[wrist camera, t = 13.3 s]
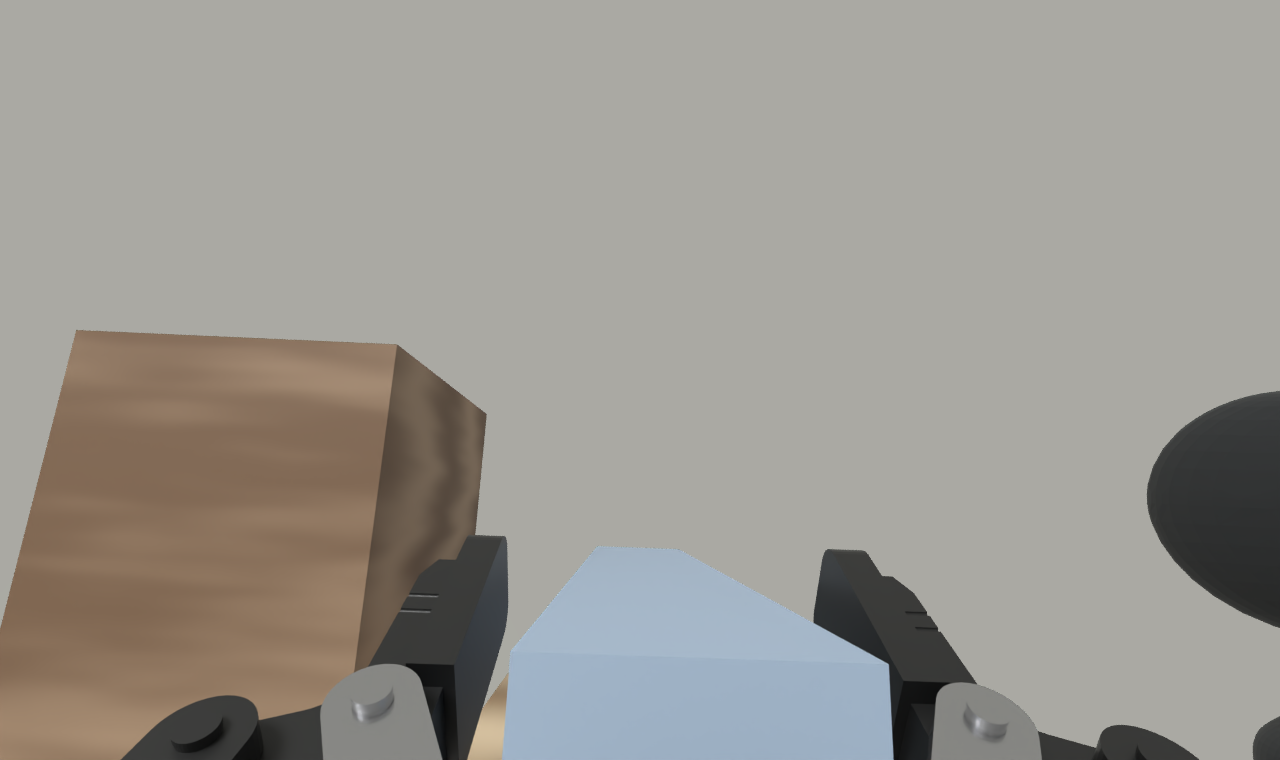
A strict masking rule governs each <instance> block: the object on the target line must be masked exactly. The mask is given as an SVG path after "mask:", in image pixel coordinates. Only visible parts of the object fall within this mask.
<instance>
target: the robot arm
mask: <svg viewBox="0 0 1280 760" xmlns="http://www.w3.org/2000/svg"><path fill="white" fill-rule="evenodd" d="M1147 505H1148V511H1149V515H1150V519H1151V522H1152V524H1153V526H1154V528H1155V531H1156V533H1157V535H1158V537H1159V539H1160V541H1161V543H1162V544H1163V546H1164V547H1165V548H1166V550H1167V551H1168V553H1169V554H1170V556H1171V557H1172V558H1173V560H1174V561H1175V562H1176V563H1177V564H1178V565H1179V566H1180V567H1181V568H1182V569H1183V570H1184V571H1185V572H1186V573H1187V574H1188V575H1189V576H1190V577H1191V579H1193V580H1194V581H1195V582H1197V583H1198V584H1199V585H1200V586H1202V587H1203V588H1204V589H1206V590H1207V591H1208V592H1209V593H1211V594H1212V595H1213V596H1215V597H1216V598H1218V599H1220V600H1222V601H1223V602H1225V603H1227V604H1228V605H1230V606H1232V607H1234V608H1235V609H1237V610H1239V611H1241V612H1242V613H1244V614H1247V615H1249V616H1251V617H1254V618H1256V619H1258V620H1261V621H1263V622H1265V623H1268V624H1270V625H1273V626H1275V627H1279V628H1280V391H1276V392H1269V393H1262V394H1257V395H1252V396H1248V397H1244V398H1241V399H1238V400H1234V401H1231V402H1229V403H1226V404H1223V405H1221V406H1218V407H1216V408H1214V409H1212V410H1210V411H1208V412H1206V413H1204V414H1203V415H1201V416H1199V417H1198V418H1196V419H1195V420H1193V421H1192V422H1190V423H1189V424H1187V425H1186V426H1185V427H1184V428H1182V429H1181V430H1180V431H1179V432H1178V433H1177V434H1176V435H1175V436H1174V437H1173V438H1172V439H1171V440H1170V442H1169V443H1168V444H1167V445H1166V446H1165V447H1164V448H1163V450H1162V452H1161V453H1160V456H1159V457H1158V459H1157V461H1156V462H1155V464H1154V466H1153V469H1152V472H1151V475H1150V479H1149V482H1148V489H1147ZM507 613H508V568H507V540H506V537H505V536H483V535H468V536H467V538H466V540H465V542H464V544H463V546H462V548H461V550H460V552H459V554H458V556H457V558H456V560H447V559H438V560H437V561H436V562H435V563H433V564H432V565H431V566H430V567H428V568H427V569H426V570H425V571H423V572H422V573H421V574H420V575H419V576H418V578H417V580H416V582H415V583H414V585H413V587H412V589H411V591H410V592H409V597H407V598H406V599H405V601H404V603H403V605H402V607H401V610H400V612H398V614H397V616H396V617H395V619H394V621H393V623H392V624H391V626H390V628H389V630H388V632H387V633H386V635H385V637H384V639H383V641H382V642H381V644H380V646H379V648H378V649H377V651H376V653H375V655H374V657H373V658H372V660H371V662H370V664H369V665H368V667H366V668H364V669H361V670H358V671H356V672H354V673H352V674H350V675H349V676H347V677H345V678H344V679H342V680H341V681H340V682H339V683H337V684H336V685H335V686H334V687H333V688H332V689H331V690H330V692H329V693H328V694H327V696H326V697H325V699H324V701H323V703H322V705H319V706H316V707H314V708H310V709H307V710H303V711H298V712H294V713H289V714H285V715H280V716H276V717H271V718H267V719H262V720H259V716H258V711H257V708H256V706H255V705H254V703H253V702H251V701H250V700H249V699H246V698H244V697H240V696H235V695H224V696H215V697H210V698H206V699H203V700H200V701H197V702H194V703H192V704H189V705H187V706H185V707H183V708H181V709H179V710H177V711H175V712H174V713H172V714H170V715H169V716H167V717H166V718H165V719H163V720H162V721H160V722H159V723H158V724H157V725H156V726H155V727H153V728H152V729H151V730H150V731H149V732H148V733H147V734H146V735H145V736H144V737H143V738H142V739H141V740H140V741H139V742H138V743H137V744H136V745H135V746H134V747H133V748H132V749H131V750H130V751H129V752H128V753H127V754H126V755H125V756H124V757H123V758H122V759H121V760H467V759H468V755H469V752H470V748H471V745H472V742H473V738H474V735H475V731H476V728H477V725H478V721H479V718H480V714H481V711H482V708H483V704H484V701H485V697H486V694H487V691H488V687H489V684H490V680H491V677H492V673H493V670H494V667H495V663H496V660H497V657H498V653H499V649H500V646H501V643H502V639H503V636H504V632H505V627H506V621H507ZM814 624H816V625H818V626H820V627H822V628H823V629H825V630H827V631H829V632H831V633H833V634H834V635H836V636H838V637H840V638H842V639H844V640H845V641H847V642H849V643H851V644H853V645H855V646H856V647H858V648H860V649H862V650H864V651H865V652H867V653H869V654H871V655H873V656H875V657H876V658H878V659H880V660H882V661H884V662H886V663H887V664H889V680H890V700H891V720H892V740H893V760H1199V759H1198V758H1197V757H1195V756H1194V755H1193V754H1191V753H1190V752H1189V751H1187V750H1185V749H1184V748H1183V747H1181V746H1179V745H1178V744H1176V743H1174V742H1173V741H1171V740H1169V739H1167V738H1165V737H1163V736H1160V735H1158V734H1156V733H1153V732H1151V731H1148V730H1145V729H1142V728H1138V727H1134V726H1127V725H1115V726H1110V727H1108V728H1106V729H1105V730H1104V731H1103V732H1102V734H1101V735H1100V738H1099V741H1098V744H1097V747H1096V748H1094V747H1090V746H1087V745H1083V744H1080V743H1076V742H1073V741H1069V740H1065V739H1062V738H1058V737H1055V736H1051V735H1047V734H1045V733H1042V732H1039V731H1037V729H1036V727H1035V725H1034V723H1033V722H1032V720H1031V719H1030V717H1029V716H1028V715H1027V714H1026V713H1025V712H1024V711H1023V710H1022V709H1021V708H1020V707H1019V706H1018V705H1016V704H1015V703H1014V702H1012V701H1011V700H1010V699H1008V698H1006V697H1005V696H1003V695H1001V694H1000V693H998V692H995V691H994V690H991V689H989V688H986V687H983V686H980V685H977V683H976V682H975V680H974V679H973V677H972V676H971V675H970V673H969V672H968V670H967V669H966V668H965V666H964V665H963V663H962V662H961V660H960V659H959V657H958V656H957V655H956V653H955V652H954V650H953V649H952V647H951V646H950V645H949V643H948V642H947V640H946V639H945V637H944V636H943V634H942V633H941V632H938V627H937V626H936V625H935V623H934V622H933V620H932V619H931V617H930V616H927V611H926V610H925V609H924V607H923V606H922V604H921V603H920V601H919V600H918V599H917V597H916V596H915V594H914V593H913V592H912V591H910V590H909V589H908V588H906V587H905V586H904V585H902V584H901V583H900V582H899V581H897V580H896V579H895V578H893V577H889V576H882V575H881V574H880V573H879V571H878V569H877V568H876V566H875V565H874V563H873V562H872V560H871V558H870V557H869V555H868V554H867V553H866V552H865V551H861V550H834V549H828V550H826V551H825V553H824V556H823V559H822V565H821V571H820V578H819V584H818V590H817V597H816V603H815V609H814ZM1253 759H1254V760H1280V717H1278V718H1276V719H1274V720H1272V721H1270V722H1268V723H1267V724H1265V725H1264V726H1263V727H1262V728H1260V729H1259V731H1258V733H1257V734H1256V736H1255V739H1254V743H1253Z"/></svg>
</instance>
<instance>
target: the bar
mask: <svg viewBox="0 0 1280 760" xmlns="http://www.w3.org/2000/svg"><path fill="white" fill-rule="evenodd" d="M502 760H893V740H892V720H891V700H890V680H889V664H887V663H886V662H884V661H882V660H880V659H878V658H876V657H875V656H873V655H871V654H869V653H867V652H865V651H864V650H862V649H860V648H858V647H856V646H855V645H853V644H851V643H849V642H847V641H845V640H844V639H842V638H840V637H838V636H836V635H834V634H833V633H831V632H829V631H827V630H825V629H823V628H822V627H820V626H818V625H816V624H814V623H812V622H811V621H809V620H807V619H805V618H803V617H802V616H800V615H798V614H796V613H794V612H792V611H791V610H789V609H787V608H785V607H783V606H781V605H779V604H778V603H776V602H774V601H772V600H770V599H769V598H767V597H765V596H763V595H761V594H760V593H758V592H756V591H754V590H752V589H750V588H749V587H747V586H745V585H743V584H741V583H739V582H738V581H736V580H734V579H732V578H730V577H728V576H727V575H725V574H723V573H721V572H719V571H717V570H715V569H714V568H712V567H710V566H708V565H707V564H705V563H703V562H701V561H699V560H697V559H696V558H694V557H692V556H690V555H688V554H686V553H685V552H683V551H681V550H679V549H656V548H630V547H604V546H597V547H596V548H595V550H594V551H593V552H592V553H591V554H590V556H589V557H588V558H587V559H586V561H585V562H584V563H583V564H582V565H581V567H580V568H579V569H578V570H577V571H576V573H575V574H574V575H573V576H572V578H571V579H570V580H569V581H568V582H567V584H566V585H565V586H564V587H563V588H562V590H561V591H560V592H559V593H558V595H557V596H556V597H555V598H554V599H553V601H552V602H551V603H550V604H549V605H548V607H547V608H546V609H545V610H544V612H543V613H542V614H541V615H540V616H539V618H538V619H537V620H536V621H535V623H534V624H533V625H532V626H531V627H530V628H529V630H528V631H527V632H526V634H525V635H524V636H523V637H522V638H521V640H520V641H519V642H518V643H517V644H516V646H515V647H514V648H513V649H512V650H511V652H510V665H509V677H508V690H507V702H506V715H505V728H504V740H503V753H502Z"/></svg>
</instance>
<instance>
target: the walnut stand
mask: <svg viewBox="0 0 1280 760" xmlns="http://www.w3.org/2000/svg"><path fill="white" fill-rule="evenodd" d="M485 426H486V413H485V412H483V411H482V410H481V409H479V408H478V407H477V406H475V405H474V404H473V403H472V402H470V401H469V400H468V399H466V398H465V397H464V396H463V395H461V394H460V393H459V392H458V391H456V390H455V389H454V388H452V387H451V386H450V385H449V384H447V383H446V382H445V381H443V380H442V379H441V378H440V377H438V376H437V375H435V374H434V373H433V372H432V371H431V370H429V369H428V368H427V367H425V366H424V365H423V364H421V363H420V362H419V361H418V360H416V359H415V358H414V357H412V356H411V355H410V354H409V353H407V352H406V351H405V350H404V349H402V348H401V347H400V346H398V345H396V344H375V343H374V344H373V343H353V342H352V343H351V342H330V341H308V340H285V339H263V338H241V337H219V336H195V335H174V334H151V333H128V332H106V331H105V332H104V331H83V330H76V334H75V338H74V342H73V345H72V350H71V353H70V357H69V361H68V365H67V369H66V373H65V377H64V381H63V385H62V388H61V392H60V396H59V400H58V404H57V408H56V412H55V416H54V420H53V424H52V428H51V432H50V436H49V440H48V444H47V448H46V452H45V455H44V459H43V463H42V467H41V472H40V475H39V479H38V483H37V487H36V491H35V495H34V498H33V502H32V506H31V510H30V514H29V518H28V522H27V526H26V530H25V534H24V538H23V542H22V546H21V550H20V554H19V557H18V562H17V565H16V569H15V573H14V577H13V581H12V585H11V589H10V593H9V597H8V601H7V605H6V608H5V613H4V616H3V620H2V625H1V628H0V760H121V759H122V758H123V757H124V756H125V755H126V754H127V753H128V752H129V751H130V750H131V749H132V748H133V747H134V746H135V745H136V744H137V743H138V742H139V741H140V740H141V739H142V738H143V737H144V736H145V735H146V734H147V733H148V732H149V731H150V730H151V729H152V728H153V727H155V726H156V725H157V724H158V723H159V722H160V721H162V720H163V719H165V718H166V717H167V716H169V715H170V714H172V713H174V712H175V711H177V710H179V709H181V708H183V707H185V706H187V705H189V704H192V703H194V702H197V701H200V700H203V699H206V698H210V697H215V696H224V695H235V696H240V697H244V698H246V699H249V700H250V701H251V702H253V703H254V705H255V706H256V708H257V711H258V716H259V720H262V719H267V718H271V717H276V716H280V715H285V714H289V713H294V712H298V711H303V710H307V709H310V708H314V707H316V706H319V705H322V703H323V701H324V699H325V697H326V696H327V694H328V693H329V692H330V690H331V689H332V688H333V687H334V686H335V685H336V684H337V683H339V682H340V681H341V680H342V679H344V678H345V677H347V676H349V675H350V674H352V673H354V672H356V671H358V670H361V669H364V668H366V667H368V665H369V664H370V662H371V660H372V658H373V657H374V655H375V653H376V651H377V649H378V648H379V646H380V644H381V642H382V641H383V639H384V637H385V635H386V633H387V632H388V630H389V628H390V626H391V624H392V623H393V621H394V619H395V617H396V616H397V614H398V612H400V610H401V607H402V605H403V603H404V601H405V599H406V598H407V597H409V592H410V591H411V589H412V587H413V585H414V583H415V582H416V580H417V578H418V576H419V575H420V574H421V573H422V572H423V571H425V570H426V569H427V568H428V567H430V566H431V565H432V564H433V563H435V562H436V561H437V560H438V559H447V560H456V558H457V556H458V554H459V552H460V550H461V548H462V546H463V544H464V542H465V540H466V538H467V536H468V535H475V531H476V520H477V509H478V500H479V489H480V479H481V468H482V457H483V447H484V436H485Z"/></svg>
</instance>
